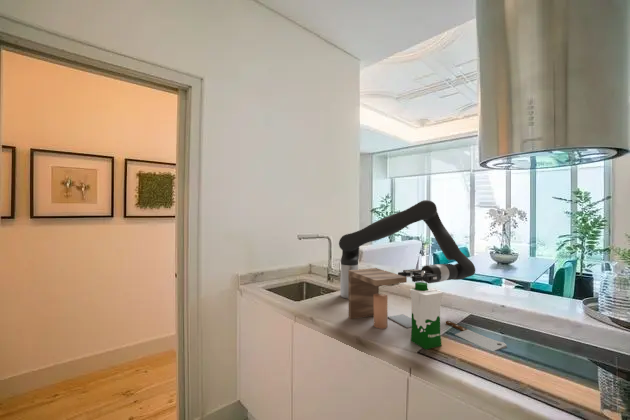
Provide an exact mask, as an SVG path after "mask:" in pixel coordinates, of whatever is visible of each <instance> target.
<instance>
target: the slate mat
mask: <svg viewBox="0 0 630 420" xmlns="http://www.w3.org/2000/svg"><path fill="white" fill-rule="evenodd" d="M388 319H389V320H391V321H392V322H394V323H397V324H398V325H400V326H402V327H404V328H406V329H410V328H411V329H412V317H410V316H408V315H405V314H404V313H402V314H396V315H391V316H388Z"/></svg>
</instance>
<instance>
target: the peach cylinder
mask: <svg viewBox="0 0 630 420" xmlns="http://www.w3.org/2000/svg"><path fill="white" fill-rule="evenodd" d="M388 299H389V298H388V294H386V293H379V294H374V295H373V301H374V315H373V327H374V328H376V329H381V330H383V329H384V330H385V329H387V328H388V327H389V325H388V319H389V318H388V317H389V316H388V313H389V311H388V307H389V306H388Z"/></svg>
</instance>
